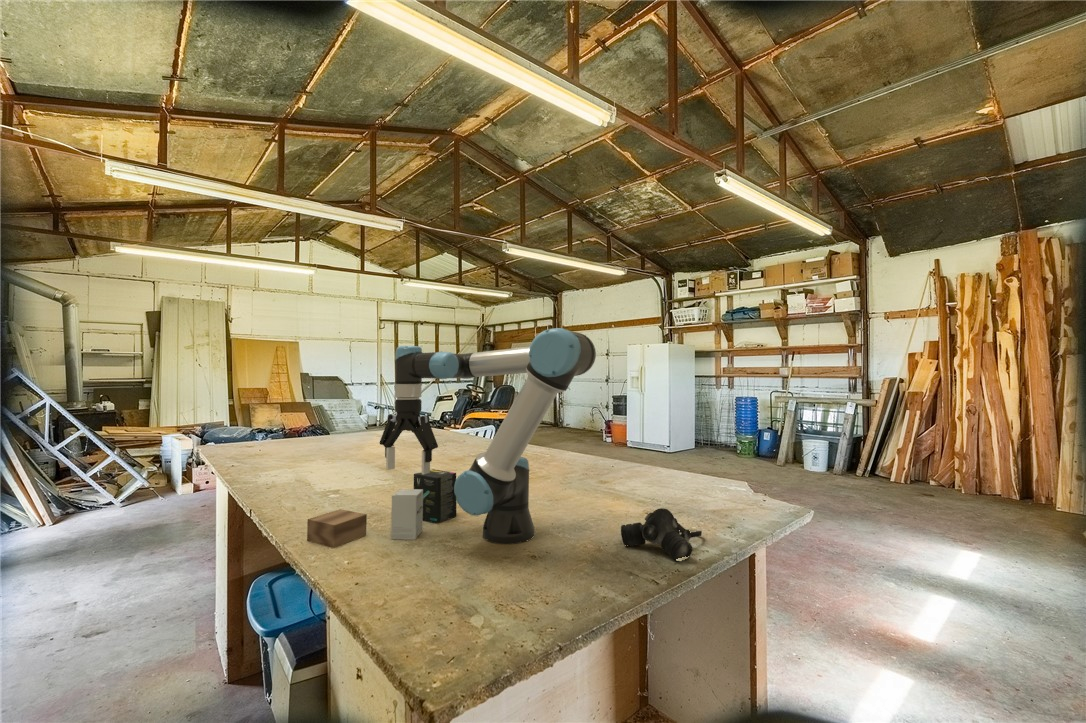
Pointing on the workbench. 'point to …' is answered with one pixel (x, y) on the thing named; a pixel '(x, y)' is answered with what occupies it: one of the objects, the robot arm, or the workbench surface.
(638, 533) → the respirator mask
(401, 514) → the supplement box
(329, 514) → the walnut block
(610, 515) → the workbench surface
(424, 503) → the tampon box
